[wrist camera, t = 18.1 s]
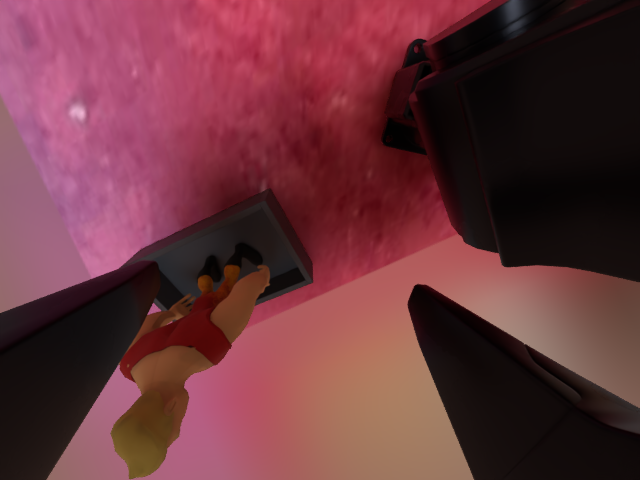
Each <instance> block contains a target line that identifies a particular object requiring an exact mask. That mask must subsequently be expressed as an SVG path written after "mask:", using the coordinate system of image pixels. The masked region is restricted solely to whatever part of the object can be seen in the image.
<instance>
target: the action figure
mask: <svg viewBox="0 0 640 480" xmlns="http://www.w3.org/2000/svg"><path fill="white" fill-rule="evenodd" d="M242 257H243V258H246V259H247V260H248V261H249V262H251V263H252V264H254V265H256V266H257V268H259V269H260V268H262V269H260V270H259V272H257V271H256V272H253V273H251V274H249V275H247V276H245V277H244V278H242V279H240V280H239V281H238V282H237V279H238V276H239V272H240V270H241V268H242ZM262 262H263V259H262V257H261V255H260V254H259V253H257V252H256V251H255V250H253V249H251V248H249V247H248V246H246V245H244V244H237V245H235V253H234V254H233V255H232V256H231V257H230V258H229V260H228V261H227V262H226V264H225V265H224V274H225V281H224V282H223V283H222V284H221V286H220V287H219V288H218V290H217V291H216V292H214V291H213V282H215V283H218V282H220V280H221V274H220V273H219V271H218V270H217V268H216V259H215V257H213V256H209V257H207V258H206V260H205V265H204V267H203V268H202V269H201V270H200V272H199V273H198V276H197V283H198V287H199V289H200V290H201V291H202V294H201V296H200V297H198V298H197V299H196V300H195V302H194V304H192V305H190V306H188V307H186V306H187V305H188V304H189V303H190V302H192V301H193V300H194V299H195V298H196V297H195V296H193V297H191V298H190V299H189V300H188V301H187V302H186V303H184V304H181V303H183V302H184V301H185V300H186V299H187V298H189V297H190V296H191V294H187V295H186V296H185V297H184V298H182V299H181V300H180V301H179V302H177V303H176V304H174V305H173V306H172V307H171V308H170V309H169V310H168V311H161V312H156V313H152V314H150V315H147V316H146V318H145V321H144V323H143V325H142V327H141V329H140V330H139V332H138V334H137V336H136V337H135V339H134V340H133V342H132V344H131V345H130V347H129V348H128V350H127V352H126V353H125V355H124V356H123V358H122V360H121V361H120V363H119V365H120V371H121V372H122V373H123V375H124V376H125V377H126V378H128V379H129V380H132V381H133V382H135V383H136V384H137V386H138V388H139V389H140V391H141V394H142V396H140V397H139V398H138V400H137V401H136V402H135V403H134V404H133V405H132V406H131V408H130V409H129V410H128V411H127V412H126V413H125V414H123V415H122V416H121V417H120V418H119V419H118V420H117V422H116V423H115V424H114V426H113V428H112V431H111V436H112V439H113V443H114V448H115V451H116V452H117V453H118V455H119V456H120V457H121V458H122V459H123V460H125V462H126V463H127V465H128V469H129V479H133V478H136V477H145V476H148V475H150V474H151V473H153V472H154V471H156V470H157V469H158V468H159V466H160V465H161V464H162V462H163V461H164V460H165V457H166V453H167V448H168V447H169V446H170V445H171V444H172V443H173V441H175V440H176V439H177V438H178V437H179V433H180V426H181V422H182V419H183V417H184V416H185V413H186V409H187V404H188V400H189V396H188V392H187V390H186V389H185V388H184V384H185V381H186V380H187V379H188V378H189V377H190V376H191V375H192V374H194V373H197V372H201V371H204V370H206V369H208V368H210V367H212V366H213V365H217V364H218V363H219V362H220V361H221V360H222V359H223V358H224V357H225V355H226V353H227V352H228V350H229V349H231V346H232V345H231V344H232V343H233V342H234V341H235V339H236V338H237V337H238V336H239V335H240V334H241V333H242V331H243V330H244V328H245V327H246V325H247V324H248V321H249V319H250V316H251V314H252V312H253V309H254V306H255V303H256V299H257V298H258V296H259V295H260V294H261V293H263V292H264V289H265V287H266V286H269V285H270V284H269V279H270V271H269V268H268V267H267V266H266V265H262ZM236 282H237V283H236ZM191 309H192V310H191ZM189 310H191V311H189ZM174 319H176V321H174V322H172V323H170V322H171V321H173V320H174ZM168 323H170V324H168ZM167 324H168V325H167Z"/></svg>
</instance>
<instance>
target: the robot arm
mask: <svg viewBox="0 0 640 480" xmlns="http://www.w3.org/2000/svg"><path fill="white" fill-rule="evenodd" d="M415 45H418V46H419V52H418V53H415V52H414V47H415ZM385 115H386V117H387V120H386V124H385V127H384V130H383V134H382V137H381V141H382V143H383V145H385V146H388V147H393V148H397V149H401V150H406V151H410V152H415V153H419V154H423V155H427V156H428V159H429V162H430V164H431V167H432V170H433V173H434V176H435V179H436V182H437V185H438V187H439V190H440V193H441V196H442V199H443V202H444V205H445V208H446V211H447V213H448V216H449V219H450V222H451V225H452V226H453V228H454V229H455V230H456V231H457V233H458V234H459V235H460V236H462V238H463V240H464V242H465V243H466V244H469V245H471V246H473V247H475V248H477V249H482V250H486V251H490V252H495V253H499V255H500V259H501V263H502V265H503V266H504V267H519V266H532V265H543V266H558V267H569V268H576V269H581V270H586V271H591V272H596V273H600V274H605V275H609V276H614V277H618V278H623V279H627V280H631V281H636V282H640V0H491V1H490V2H488V3H487V4H485V5H483V6H482V7H480V8H479V9H477V10H476V11H474V12H472V13H471V14H469V15H468V16H466V17H465V18H463V19H461V20H460V21H458V22H457V23H455V24H454V25H452V26H450V27H449V28H447V29H446V30H444V31H443V32H441V33H440V34H438V35H436V36H435V37H433V38H432V39H430V40H429V41H426V40H423V39H416V40H414V41H413V42H412V43H411V44H410V45H409V47H408V50H407V54H406V57H405V60H404V64H403V67H402V69H401V70H399V71H398V72H397V73H396V75H395V78H394V82H393V85H392V89H391V92H390V95H389V99H388V102H387V106H386V109H385ZM387 136H391V140H390V141H389V142H386V138H387ZM160 285H161V281H160V273H159V266H158V263H157V262H156V261H149V260H141V261H138V262H136V263H133V264H130V265H128V266H125V267H122V268H120V269H117V270H114V271H112V272H109V273H106V274H104V275H101V276H98V277H96V278H93V279H90V280H88V281H85V282H82V283H80V284H77V285H74V286H72V287H69V288H66V289H64V290H61V291H58V292H56V293H53V294H50V295H48V296H45V297H43V298H40V299H37V300H34V301H32V302H29V303H26V304H24V305H21V306H18V307H16V308H13V309H10V310H8V311H5V312H2V313H0V480H46V479H47V478H48V476H49V474H50V473H51V471H52V470H53V468H54V467H55V465H56V463H57V462H58V460H59V459H60V457H61V455H62V454H63V452H64V451H65V449H66V447H67V446H68V444H69V443H70V441H71V439H72V437H73V436H74V435H75V433H76V431H77V430H78V428H79V427H80V425H81V423H82V422H83V420H84V419H85V417H86V415H87V414H88V412H89V411H90V409H91V408H92V406H93V404H94V403H95V401H96V399H97V398H98V396H99V395H100V393H101V392H102V390H103V388H104V387H105V385H106V383H107V382H108V380H109V379H110V377H111V376H112V374H113V372H114V371H115V369H116V368H117V366H118V364H119V363H120V361H121V360H122V358H123V356H124V355H125V353H126V352H127V350H128V348H129V347H130V345H131V344H132V342H133V340H134V339H135V337H136V336H137V334H138V332H139V330H140V329H141V327H142V325H143V323H144V321H145V318H146V316H147V314H148V312H149V310H150V308H151V306H152V304H153V302H154V300H155V298H156V295H157V293H158V291H159V289H160ZM408 309H409V313H410V316H411V320H412V323H413V326H414V330H415V333H416V336H417V340H418V343H419V346H420V348H421V351H422V353H423V356H424V358H425V361H426V363H427V365H428V368H429V370H430V373H431V375H432V378H433V380H434V383H435V385H436V388H437V390H438V392H439V395H440V397H441V400H442V402H443V404H444V407H445V410H446V412H447V414H448V417H449V419H450V421H451V424H452V427H453V429H454V431H455V434H456V436H457V439H458V441H459V444H460V446H461V448H462V450H463V453H464V456H465V458H466V460H467V463H468V466H469V468H470V470H471V473H472V475H473V478H474V480H640V408H638V407H636V406H634V405H632V404H631V403H629V402H627V401H625V400H624V399H622V398H620V397H618V396H616V395H614V394H612V393H611V392H609V391H607V390H605V389H604V388H602V387H600V386H598V385H596V384H594V383H593V382H591V381H589V380H587V379H585V378H583V377H582V376H580V375H578V374H576V373H575V372H573V371H571V370H569V369H567V368H565V367H564V366H562V365H560V364H558V363H557V362H555V361H553V360H552V359H550V358H548V357H546V356H545V355H543V354H541V353H540V352H538V351H536V350H535V349H533V348H531V347H529V346H528V345H526V344H524V343H522V342H521V341H519V340H518V339H516V338H514V337H513V336H511V335H509V334H508V333H506V332H504V331H502V330H501V329H499V328H498V327H496V326H494V325H493V324H491V323H489V322H488V321H486V320H484V319H482V318H481V317H479V316H478V315H476V314H474V313H473V312H471V311H469V310H468V309H466V308H464V307H462V306H461V305H459V304H458V303H456V302H454V301H453V300H451V299H449V298H448V297H446V296H444V295H443V294H441V293H439V292H438V291H436V290H434V289H433V288H431V287H429V286H427V285H421V284H417V285H415V286H414V288H413V290H412V293H411V295H410V298H409V300H408Z"/></svg>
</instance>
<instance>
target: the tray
mask: <svg viewBox="0 0 640 480" xmlns="http://www.w3.org/2000/svg"><path fill="white" fill-rule="evenodd" d="M237 244H244V245H246V246H248V247H249V248H251V249H253V250H255V251H256V252H257V253H259V254H260V255H261V257H262V259H263V262H262V265H266V266H267V267H268V268H269V271H270V279H269V284H270V285H269V286H266V287H265V289H264V292H263V293H261V294H260V295H259V296H258V298H257V299H256V303H255V305H258V304H260V303H263V302H265V301H268V300H270V299H273V298H276V297H278V296H281V295H283V294H286V293H288V292H291V291H293V290H296V289H298V288H301V287H303V286H306V285H308V284H311V283H313V266H312V261H311V260H310V258H309V256H308V254H307V253H306V251H305V249H304V247H303V245H302V244H301V242H300V240H299V238H298V237H297V235H296V233H295V231H294V230H293V228H292V226H291V224H290V222H289V221H288V219H287V217H286V215H285V214H284V212H283V210H282V208H281V206H280V205H279V203H278V201H277V199H276V198H275V196H274V194H273V192H272V190H271V189H270V188H269V189H267V190H265V191H263V192H261V193H259V194H257V195H255V196H252V197H250V198H248V199H246V200H244V201H242V202H240V203H238V204H236V205H234V206H231V207H229V208H227V209H225V210H223V211H221V212H219V213H217V214H215V215H212V216H210V217H208V218H206V219H204V220H202V221H200V222H198V223H196V224H194V225H191V226H189V227H187V228H185V229H183V230H181V231H179V232H177V233H175V234H173V235H170V236H168V237H166V238H164V239H162V240H160V241H158V242H156V243H154V244H151V245H149V246H147V247H145V248H143V249H141V250H140V251H139V252H137V253H136V254H135V255H134V256H133V257H132V258H130V259H129V260H128V261H127V262H126V263H125V264H124V265H122V266H121V267H120V268H122V267H125V266H128V265H130V264H133V263H136V262H138V261H141V260H149V261H156V262H157V263H158V266H159V273H160V281H161V285H160V289H159V291H158V293H157V295H156V298H155V300H154V302H153V303H154V304H155V305H156V306H157V307H158V308H159V309H160V310H161V311H168V310H169V309H170V308H171V307H172V306H173V305H174V304H176V303H177V302H179V301H180V300H181V299H182V298H184V297H185V296H186V295H187V294H191V296H190V297H189V298H187V299H186V300H185V301H184V302H183V303H181V304H184V303H186V302H187V301H188V300H189V299H190V298H191V297H193V296H195V297H196V298H195V299H194V300H193V301H192V302H190V303H189V304H188V305H187V306H186V307H188V306H190V305H192V304H194V302H195V300H196V299H197V298H198V297H200V296H201V294H202V291H201V290H200V289H199V287H198V283H197V276H198V273H199V272H200V270H201V269H202V268H203V267H204V265H205V260H206V258H207V257H209V256H213V257H215V259H216V268H217V270H218V271H219V273H220V274H221V280H220V282H218V283H215V282H213V291H214V292H216V291H217V290H218V288H219V287H220V286H221V284H222V283H223V282H224V281H225V274H224V265H225V264H226V262H227V261H228V260H229V258H230V257H231V256H232V255H233V254H234V253H235V245H237ZM120 268H119V269H120ZM260 269H262V268H260ZM260 269H259V268H257V266H256V265H254V264H252V263H251V262H249V261H248V260H247V259H246V258H243V257H242V268H241V270H240V272H239V276H238V279H237V282H238V281H239V280H240V279H242V278H244V277H245V276H247V275H249V274H251V273H253V272H256V271H257V272H259V270H260ZM237 282H236V283H237ZM191 310H192V309H191ZM191 310H189V311H191ZM174 321H176V319H174V320H173V322H174Z"/></svg>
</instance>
